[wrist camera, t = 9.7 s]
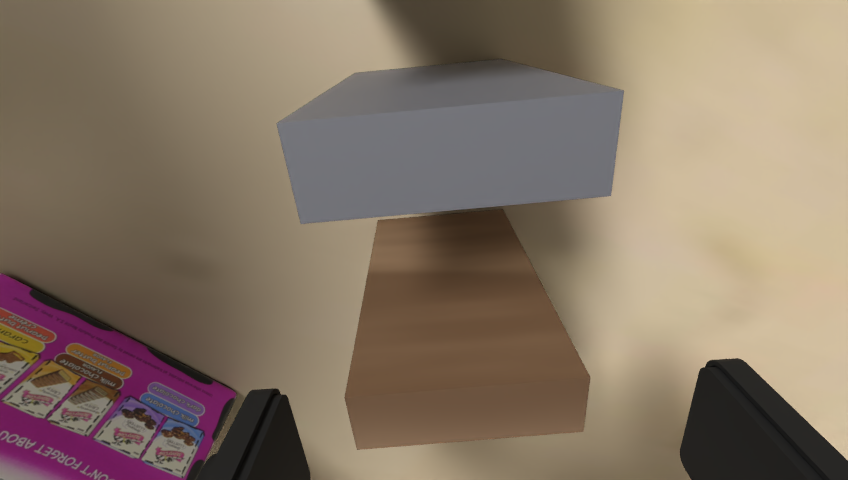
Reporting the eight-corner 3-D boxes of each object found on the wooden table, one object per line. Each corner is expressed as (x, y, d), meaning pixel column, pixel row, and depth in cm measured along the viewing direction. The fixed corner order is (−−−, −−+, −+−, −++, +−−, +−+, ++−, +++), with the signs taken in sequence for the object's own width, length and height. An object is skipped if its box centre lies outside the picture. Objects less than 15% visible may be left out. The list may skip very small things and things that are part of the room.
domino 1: (354, 72, 14) (276, 123, 6) (501, 59, 14) (624, 90, 6) (361, 121, 15) (301, 223, 7) (501, 108, 15) (610, 196, 7)
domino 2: (502, 244, 17) (583, 431, 9) (383, 255, 17) (357, 449, 9) (502, 209, 16) (590, 377, 8) (377, 220, 16) (344, 397, 8)
